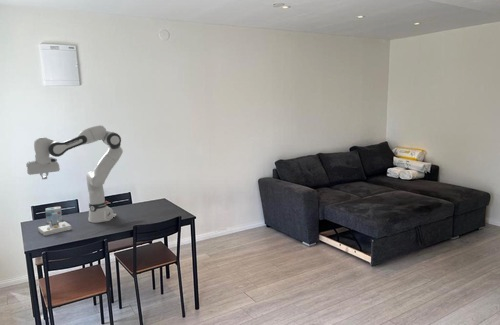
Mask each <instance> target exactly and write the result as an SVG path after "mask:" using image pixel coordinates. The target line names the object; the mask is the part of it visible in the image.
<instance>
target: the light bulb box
mask: <svg viewBox="0 0 500 325" xmlns="http://www.w3.org/2000/svg"><path fill="white" fill-rule="evenodd" d="M54 212H57V220H58V221H59V223H60V222H63V218H62V207H61V206H53V207H47V208H45V218H46V219H45V220H46V225H49V222H52V213H54Z"/></svg>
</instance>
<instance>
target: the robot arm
mask: <svg viewBox="0 0 500 325" xmlns="http://www.w3.org/2000/svg"><path fill="white" fill-rule="evenodd" d="M98 141H102V142H103V143H104V144H105V145H107V146H108V148H107V150H106V151H105V153H104V154H103V156H102V157H101V158H100V159H99V161H98V163H97V165H96V167H95V168H94V169H92V170H89V171H88V172H87V173H86V184H87V185H86V186H87V192H88V200H89V201H88V202H89V203H88V208H89V209H88V218H87V220H88V222H89V223H93V224H95V223H103V222H108V221H111V220H112V219H114V218H115V217H117V213H114V210H113V209H112V208H111V207H110V206H108V205H107V204H109V202H110V201H107V200H106V199H105V191H104V190H105V189H104V186H103V185H104V184H105V182H106V180H107V179H108V176H109V174H110V172H111V170H112V169H113V168H114V167H115V165H116V164H117V162H118V161H119V160H120V158H121V157H122V154H123V152H124V150H123V148H122V147H121V145H122V144H121V143H122V138H121V135H119V133H117V132H114V131H108V130H107V129H106V128H105V126H104V125H96V126H91V127H87V128H85V129H84V130H81V131H80V132H79V133H78V135H77V136H75V137H73V138H72V139H68V140H65V141H62V142H60V141H57V140H53V139H50V138H48V137H47V136H44V137H43V136H41V137H37V138H36V139H35V140H34V144H33V147H34V148H33V149H34V153H35V155H34V156H35V157H34V158H35V159H34V160H32V161H28V162H27V163H26V168H27V170H26V172H27V174H28V175H30V176H31V175H40V177H41V180H48V176H49V173H54V172H60V164H59V162H58V159H57V157H61V156H63V155H64V154H65V153H66V152H68V151H69V150H71V149H75V148H77V147H80V146H84V145H90V144H92V143H95V142H98ZM50 155H51V156H52V157H50ZM55 157H56V158H55ZM44 174H45V176H43V175H44ZM113 217H114V218H113Z"/></svg>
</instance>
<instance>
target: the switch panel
mask: <svg viewBox="0 0 500 325" xmlns="http://www.w3.org/2000/svg"><path fill="white" fill-rule="evenodd" d="M37 228H38V232H39V233H40V234H42V235H43V236H49V235H53V234H57V233H62V232H67V231H71V230H72V225H71V224H70V223H68V222H66V221H62V222H59V221H58V220H57V225H55V226H52V223H51V222H49V223H48V224H46V225H42V226H37Z"/></svg>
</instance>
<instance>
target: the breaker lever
mask: <svg viewBox="0 0 500 325" xmlns="http://www.w3.org/2000/svg"><path fill="white" fill-rule="evenodd" d="M51 223H52V226H55V225H57V212H54V213H52V222H51Z"/></svg>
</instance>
